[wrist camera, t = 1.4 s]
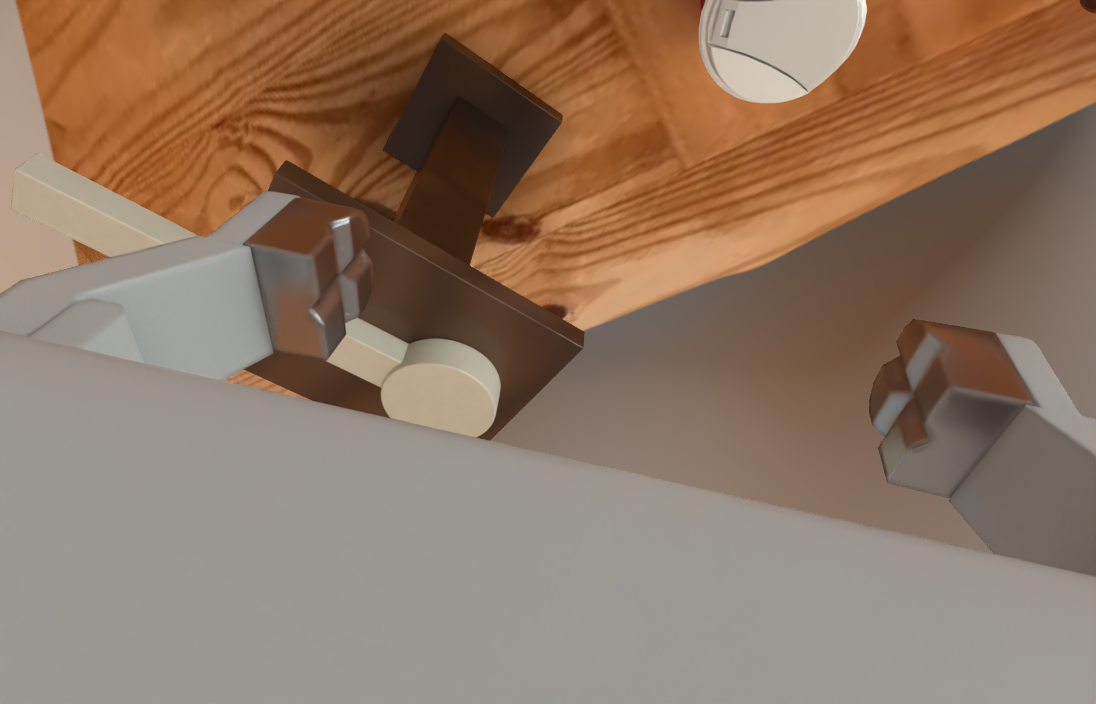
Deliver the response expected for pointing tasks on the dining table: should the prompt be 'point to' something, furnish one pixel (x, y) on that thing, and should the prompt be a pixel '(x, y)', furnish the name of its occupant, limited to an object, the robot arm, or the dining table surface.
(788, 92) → the paper cup
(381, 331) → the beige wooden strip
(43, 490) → the robot arm
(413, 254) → the stand
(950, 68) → the dining table surface
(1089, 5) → the tin
